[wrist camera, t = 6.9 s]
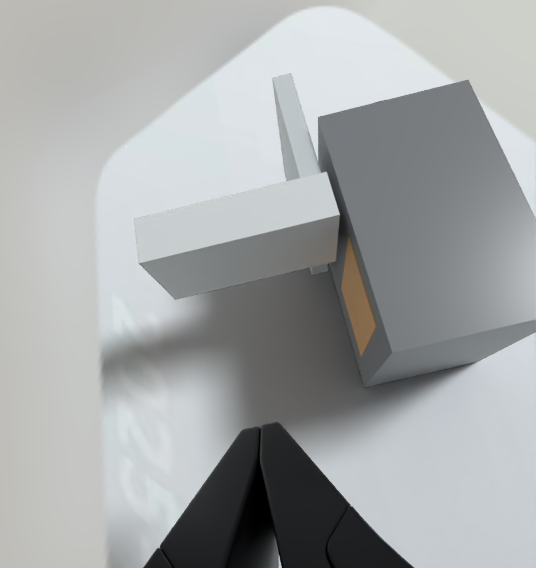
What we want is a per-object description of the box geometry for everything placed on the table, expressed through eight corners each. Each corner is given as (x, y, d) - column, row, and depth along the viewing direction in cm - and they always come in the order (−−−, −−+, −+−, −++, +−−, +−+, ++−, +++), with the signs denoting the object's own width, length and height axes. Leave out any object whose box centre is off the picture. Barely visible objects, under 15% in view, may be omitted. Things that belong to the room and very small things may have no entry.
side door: (333, 292, 19) (340, 214, 13) (199, 323, 19) (138, 263, 13) (298, 169, 22) (289, 49, 15) (179, 198, 22) (119, 93, 15)
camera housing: (477, 361, 19) (579, 309, 12) (363, 387, 19) (391, 352, 12) (411, 186, 22) (457, 57, 15) (313, 210, 22) (310, 94, 15)
